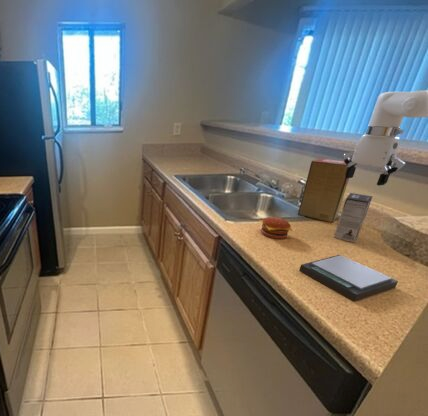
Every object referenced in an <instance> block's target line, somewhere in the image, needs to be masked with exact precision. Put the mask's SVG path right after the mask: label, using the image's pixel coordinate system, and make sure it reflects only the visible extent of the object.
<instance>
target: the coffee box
mask: <svg viewBox="0 0 428 416" xmlns="http://www.w3.org/2000/svg"><path fill="white" fill-rule="evenodd" d="M372 199H373V195H367V194H361V193H355V192H353V193H352V192H350V193H349V194H348V195H347V197H346V198H345V200H344V204H343V207H342V210H341V213H340V216H339V218H338V219H339V220H338V222H337V226H336V229H335V232H334V235H333V238H335V239H339V240H342V241H346V242H350V243H356V241H357V239H358V238H359V235H360V233H361V229H362V227H363V224H364V222H365V218H366V216H367V214H368V211H369V208H370V205H371V202H372Z"/></svg>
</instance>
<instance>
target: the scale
mask: <svg viewBox="0 0 428 416" xmlns="http://www.w3.org/2000/svg"><path fill="white" fill-rule="evenodd" d="M299 272H301V273H303V274H304V275H306V276H308V277H310V278H311V279H314V280H315V281H317V282H319V283H320V284H322V285H324V286H326V287H328V288H330V289H331V290H333V291H334V292H337V293H338V294H340V295H342V296H344V297H345V298H347V299H349V300H351V301H353V302H357V301H361V300H364V299H366V298H370V297H372V296H375V295H378V294H382V293H384V292H387V291H390V290H392V288H393V289H396V288H397V284H398V283H399V280H397V279H394V278H393V277H390V276H389V275H387V274H384V273H382V272H380V271H377V270H375V269H373V268H371V267H368V266H366V265H364V264H362V263H359V262H357V261H355V260H353V259H350V258H348V257H346V256H344V255H341V254H337V255H333V256H330V257H329V256H328V257H325V258H321V259H318V260H313V261H310V262H305V263H302V264H300V266H299Z"/></svg>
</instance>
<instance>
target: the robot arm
mask: <svg viewBox="0 0 428 416" xmlns="http://www.w3.org/2000/svg"><path fill="white" fill-rule="evenodd" d="M404 117H405V118H411V119H412V118H416V119H417V118H428V90H427V89H426V90H425V89H423V90H413V91H385V92H382V93H380V94H379V95H378V96H377V99H376V102H375V105H374V107H373V110H372V114H371V117H370V119H369V121H368V126H367V129H366V132H365V134H363V135H362V136H361V138H360V139H359V141H358V143H357V144H356V147H355V149H354V151H353V150H352V151H349V152H345V153H343V155H342V157H343V159H344V160H343V161H344V162H345V163H346V166H347V167H348V168H347V171H346V174H345V175H346V177H345V178H349V179H352V178H354V176H355V172H356V170H357V167H356V166H357V165H361V166H362V165H363V166H367V167H374V168H380V170H381V172H382V173H380V174H379V177H378V180H377V183H376V186H379V187H380V186H385V184H387V183H388V181H389V178H390V175H392V174H394V173H397V172H398V171H400V170H401V169H402V168H403V167H404V166H405V165H406V162H405V161H403V160H401V158H399V157H397V154H398V150H399V145H400V137H399V136H398V135H402V134H403V133H404V132H405V130H404V129H401V125H402V122H403V119H404ZM351 156H352V158H351ZM394 164H395V165H394ZM393 165H394V166H393Z"/></svg>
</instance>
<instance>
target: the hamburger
mask: <svg viewBox="0 0 428 416" xmlns="http://www.w3.org/2000/svg"><path fill="white" fill-rule="evenodd" d="M259 222H260V223H262V224H261V229H260V232H261V234H262V235H263V236H265V237H266V238H267V237H268V238H270V239H274V240H275V239H276V240H284V239H287V237H288V235H289V232H290V231H291V232H294V229H292V227H291V223H290V222H289V221H288V220H286V219H284V218H282V217H279V216H268V217H266V218H264V219H261V220H259Z"/></svg>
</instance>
